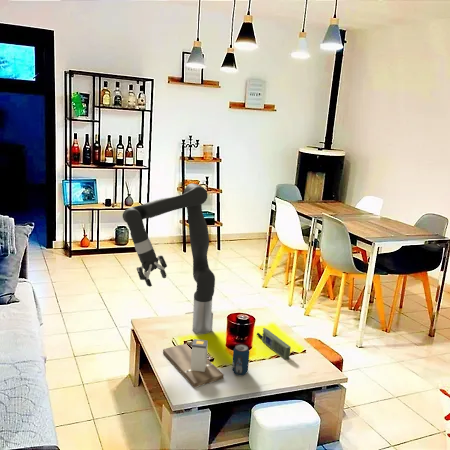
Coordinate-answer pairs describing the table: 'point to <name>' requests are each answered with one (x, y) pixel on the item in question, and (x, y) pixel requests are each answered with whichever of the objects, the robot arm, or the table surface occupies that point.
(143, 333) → the table surface
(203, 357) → the white tall block
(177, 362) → the subfloor panel
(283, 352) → the handheld radio
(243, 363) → the soda can
